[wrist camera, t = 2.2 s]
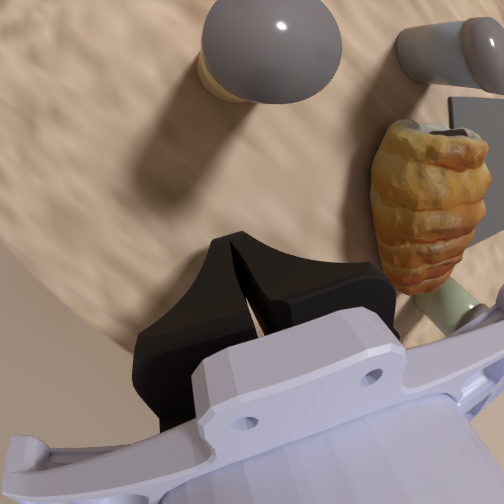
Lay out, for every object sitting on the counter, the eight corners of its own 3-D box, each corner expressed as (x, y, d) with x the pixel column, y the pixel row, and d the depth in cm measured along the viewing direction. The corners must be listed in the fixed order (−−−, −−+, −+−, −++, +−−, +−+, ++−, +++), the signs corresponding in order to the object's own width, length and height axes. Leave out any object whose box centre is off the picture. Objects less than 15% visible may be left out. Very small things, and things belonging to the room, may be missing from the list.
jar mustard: (286, 96, 11) (352, 94, 6) (205, 113, 10) (221, 117, 6) (269, 23, 9) (324, -21, 5) (186, 37, 9) (190, -11, 4)
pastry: (443, 266, 17) (480, 299, 13) (356, 293, 16) (389, 338, 13) (458, 119, 12) (511, 133, 9) (358, 117, 12) (413, 128, 8)
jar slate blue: (443, 85, 11) (520, 97, 7) (400, 85, 11) (484, 93, 7) (433, 29, 10) (509, 26, 5) (388, 23, 10) (469, 9, 5)
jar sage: (442, 298, 19) (485, 340, 14) (410, 315, 18) (453, 362, 14) (449, 262, 17) (500, 302, 13) (416, 277, 17) (467, 325, 12)
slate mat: (516, 220, 18) (518, 221, 17) (445, 256, 17) (447, 257, 16) (523, 101, 13) (525, 102, 12) (449, 96, 12) (452, 97, 12)
